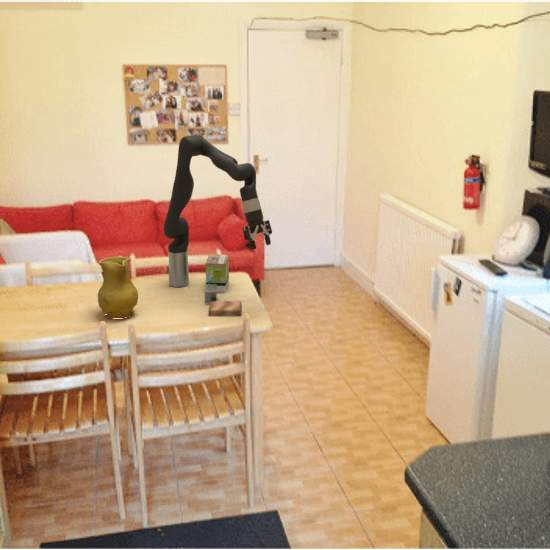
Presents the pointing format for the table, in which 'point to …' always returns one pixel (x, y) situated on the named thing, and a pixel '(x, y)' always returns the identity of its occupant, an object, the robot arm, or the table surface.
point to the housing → (210, 293)
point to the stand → (225, 308)
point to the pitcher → (117, 288)
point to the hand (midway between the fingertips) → (261, 247)
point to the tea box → (218, 271)
